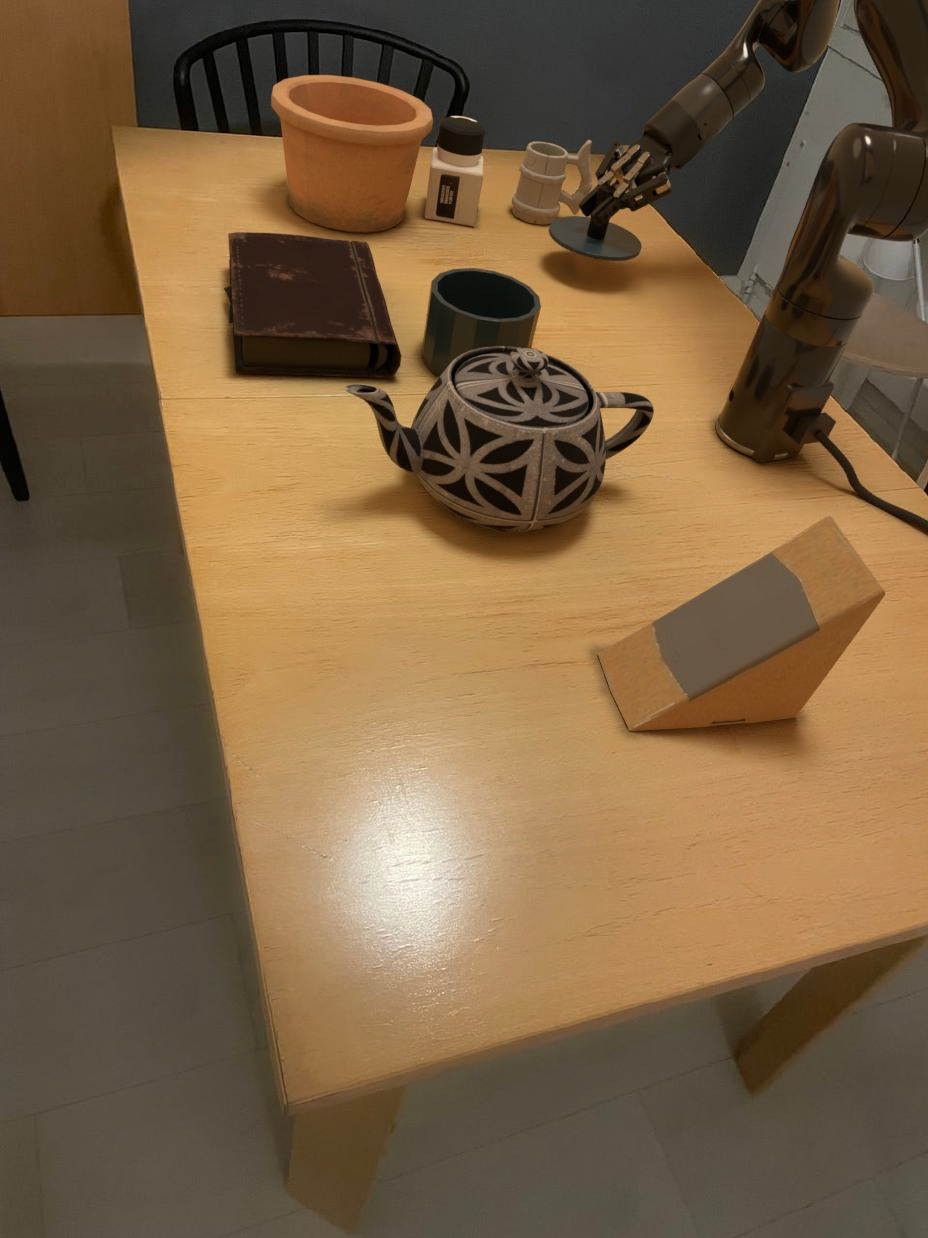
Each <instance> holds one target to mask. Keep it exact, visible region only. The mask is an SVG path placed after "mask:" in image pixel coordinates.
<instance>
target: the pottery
mask: <svg viewBox="0 0 928 1238" xmlns="http://www.w3.org/2000/svg"><path fill="white" fill-rule="evenodd" d="M270 97H271V98H270V103H271V104H270V106H271V108H272V109H273V111H274V112H275V113H276V114H277V116H278V118H280V128H281V136H282V146H283V155H284V165H285V171H286V172H285V174H286V181H287V190H288V191H287V192H288V198H289V202H288V203H289V205H290V206H291V208H292V209H293V211H294V212H295V214H297V215H298V216H300V217H302V218H303V219H304V220H306V221H307V222H310V223H312V224H315V225H317V226H320V227H323V228H325V229H330V230H334V231H335V230H336V231H340V232H345V233H360V234H370V233H377V232H384V231H387V230H389V229H391V228H393V227H394V228H395V227H396V226H398V225H399V224H400V222H401V221H402V220H403V219H404V214H405V209H406V205H407V201H408V197H409V194H410V189H411V185H412V181H413V177H414V173H415V169H416V165H417V161H418V156H419V152H420V150H421V149H420V148H421V145H422V141H423V139H424V138H426V137H427V136H428V135H429V134H430V133H431V132H432V130H433V123H434V118H433V113H432V108H430V107H429V106H428V105H427V104H425V103H424V102H423V100H421V99H420V98H418V97H416V96H413V95H411V94H409V93H408V92H406V91H403V90H402V89H399V88H395V87H393V86H389V85H387V84H383V83H380V82H376V81H371V80H367V79H362V78H357V77H351V76H342V75H331V74H312V75H311V74H307V75H300V76H294V77H289V78H284V79H282V80H281V81H279V82H277V83H275V84H274V85H273V87H272V91H271V96H270Z"/></svg>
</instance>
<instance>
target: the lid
mask: <svg viewBox="0 0 928 1238" xmlns="http://www.w3.org/2000/svg"><path fill="white" fill-rule="evenodd" d="M610 185H611V184H610ZM610 185H600V186H599V188H598V192H597V196H596V200H595V204H594V208H593V211H594V210H595V209H596V208H597V207H598V206H599V205H600V204H601V203H602V202H603V201H605V200H606V199H607V198H608V197H609V196H610V195H611V196H612V197H614V196H613V194H614V192H615V191H616V190H617V189H616V188H615V187H613V186H610ZM593 211H592V212H593ZM610 220H611V218H610V219H609V220H608V221H607V222H606V223H604V224H602V225H601V226H600V227H598V226H596V225H595V224H594V222H593V220H592V219H591V217H590V216H589V217H586V216H580V215H579V216H578V215H568V216H562V217H558V218H556V219H555V220H554V221H552V222H551V224H549V227H548V234H549V236H550V238H551V240H553V241H554V242H555V243H556V244H557V245H559V246H560V247H562V248H563V249H565V250H567V251H570V252H571V253H574V254H577V255H580V256H582V257H586V258H590V259H593V260H597V261H598V260H599V261H606V262H625V261H629V260H633V259H636V258H637V257H638V256H639V255H640V254H641V251H642V248H643V247H642V242H641V240H640V239H639V237H637V235H635V234H634V233H633V232H632V231H629V230H628V229H626V228H624V227H623V226H620V225H618V224H615V223H613V222H611V221H610Z"/></svg>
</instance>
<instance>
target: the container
mask: <svg viewBox="0 0 928 1238" xmlns="http://www.w3.org/2000/svg"><path fill="white" fill-rule="evenodd" d="M485 135H486V130H485V127H484V126H483V125H482V124H481V123H480V122H479V121H477V120H476V119H474V118H471V117H468V116H463V115H461V116H460V115H450V116H448V117H444V118H443V119H442V120H441V121H440V123H439V130H438V138H437V146H436V147H434V148H432V152H431V160H430V168H429V176H428V183H427V191H426V197H425V198H426V199H425V208H424V218H425V219H427V220H432V221H433V220H434V221H439V222H443V223H444V222H445V223H451V224H455V225H462V226H468V227H475V226H476V222H477V217H478V216H477V215H478V211H479V204H480V198H481V191H482V186H483V180H484V161H485V160H484V156H482V153H483V147H484V140H485Z"/></svg>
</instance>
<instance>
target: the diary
mask: <svg viewBox="0 0 928 1238" xmlns="http://www.w3.org/2000/svg"><path fill="white" fill-rule="evenodd" d="M227 236H228V255H229V260H228V269H229V286H227V287H224V288H223V290H224V292H225V293H226V295H227V298H228V300H229V303H230V305H229V307H228V310H229V311H228V324H232V340H233V358H234V373H237V374H263V375H265V374H266V375H267V374H268V375H295V376H296V375H297V376H298V375H299V376H325V377H350V378H351V377H355V378H373V377H375V378H381V379H382V378H383V379H385V378H386V379H387V378H388V379H392V378H393V377H394V376H395V375H396V373H397V372H398V370H399V368H400V367H401V362H402V353H401V349H400V346H399V344H398V340H397V337H396V334H395V331H394V328H393V325H392V322H391V317H390V312H389V310H388V306H387V301H386V298H385V294H384V292H383V289H382V286H381V282H380V280H379V277H378V274H377V269H376V265H375V261H374V257H373V253H372V251H371V248H370V245H369V243H368V242H367V241H363V240H362V241H361V240H351V241H350V240H348V239H333V238H326V237H319V236H309V235H303V234H291V233H290V234H289V233H276V232H250V231H249V232H247V231H246V232H244V231H235V232H230V233H228V234H227Z"/></svg>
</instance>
